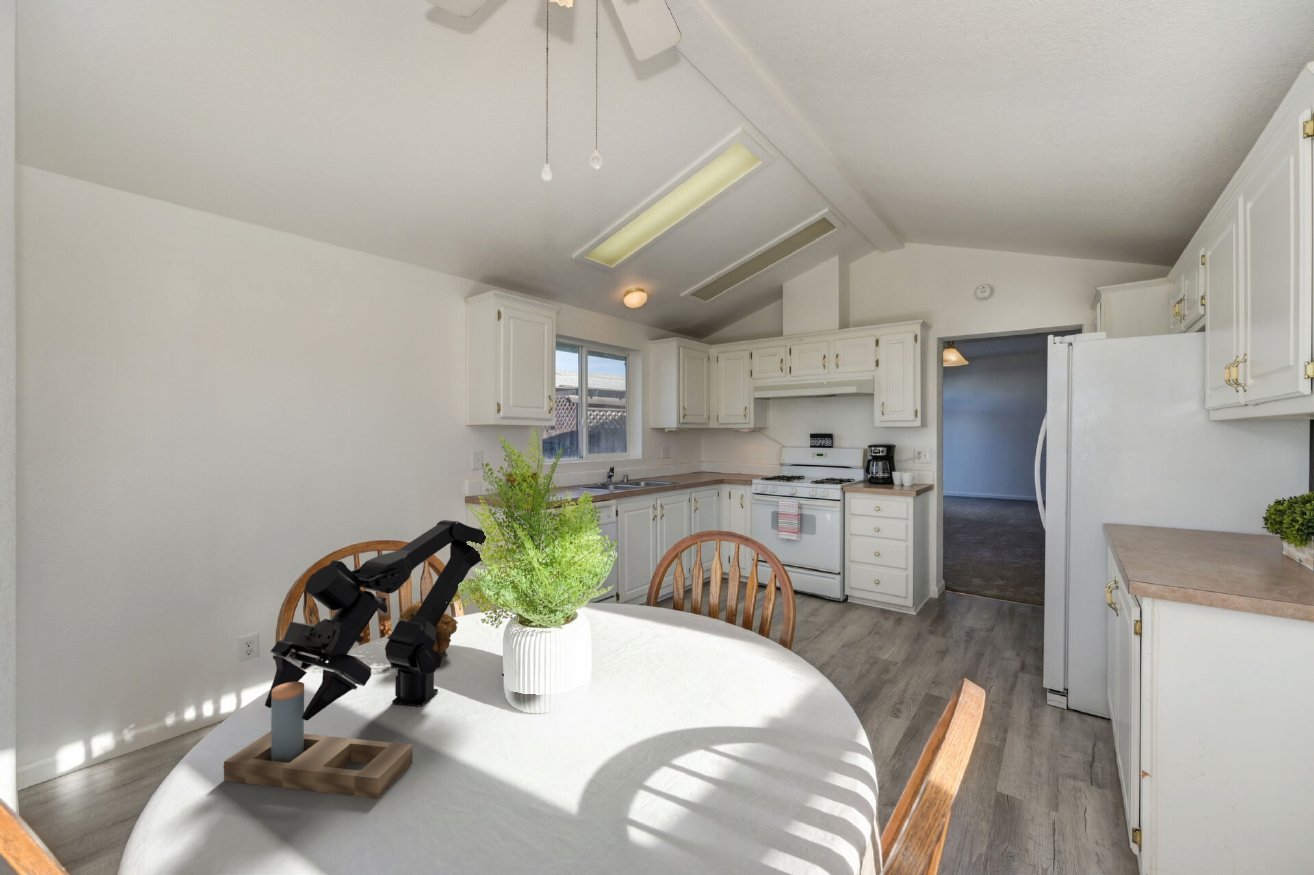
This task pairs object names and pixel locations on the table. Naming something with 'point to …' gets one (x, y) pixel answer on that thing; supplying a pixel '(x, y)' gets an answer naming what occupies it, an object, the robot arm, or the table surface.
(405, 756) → the wooden peg holder
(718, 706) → the table surface
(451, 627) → the stuffed squirrel
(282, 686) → the peg
